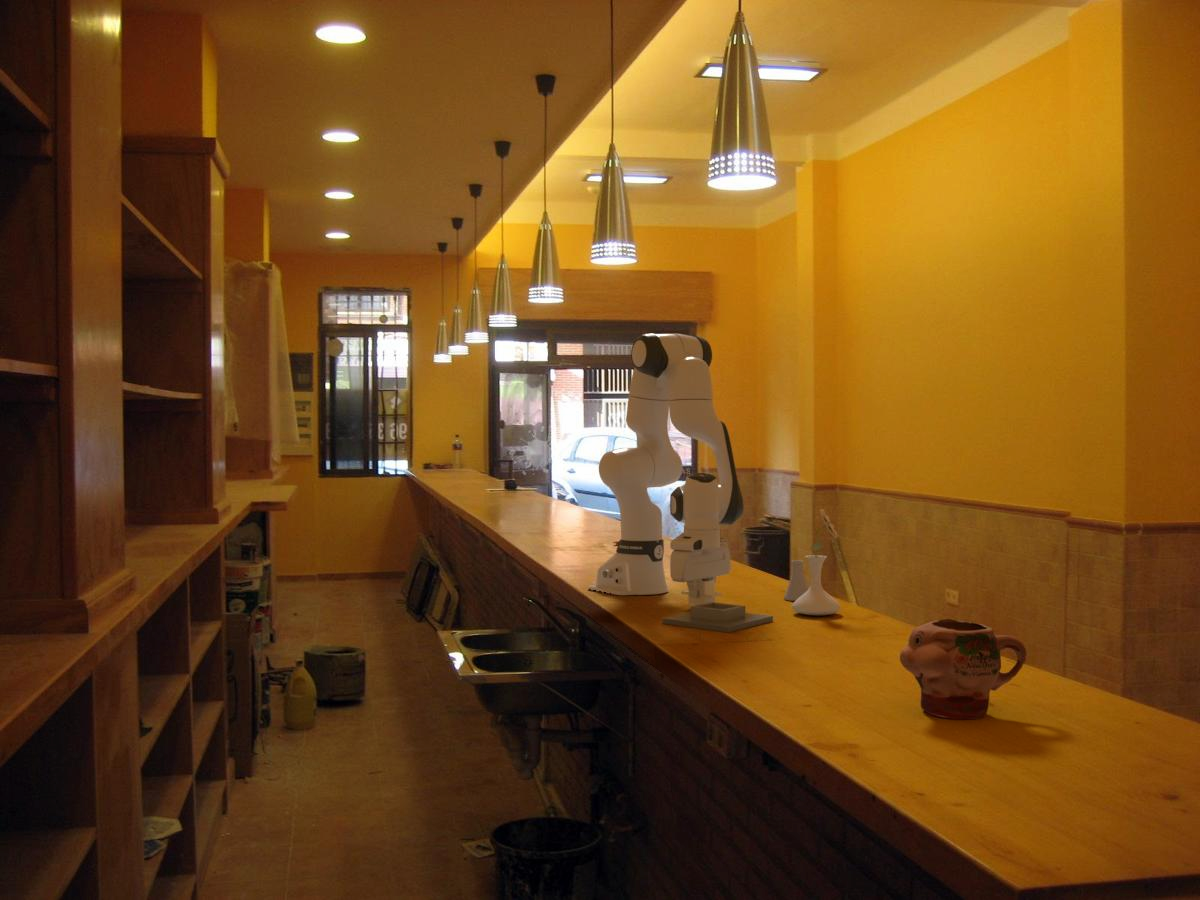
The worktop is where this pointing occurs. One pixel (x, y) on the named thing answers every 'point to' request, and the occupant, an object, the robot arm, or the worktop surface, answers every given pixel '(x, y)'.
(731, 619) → the plate
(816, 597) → the flower in vase
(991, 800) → the worktop surface
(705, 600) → the block
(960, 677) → the sculpted ceramic mug
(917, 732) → the worktop surface
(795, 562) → the flask
